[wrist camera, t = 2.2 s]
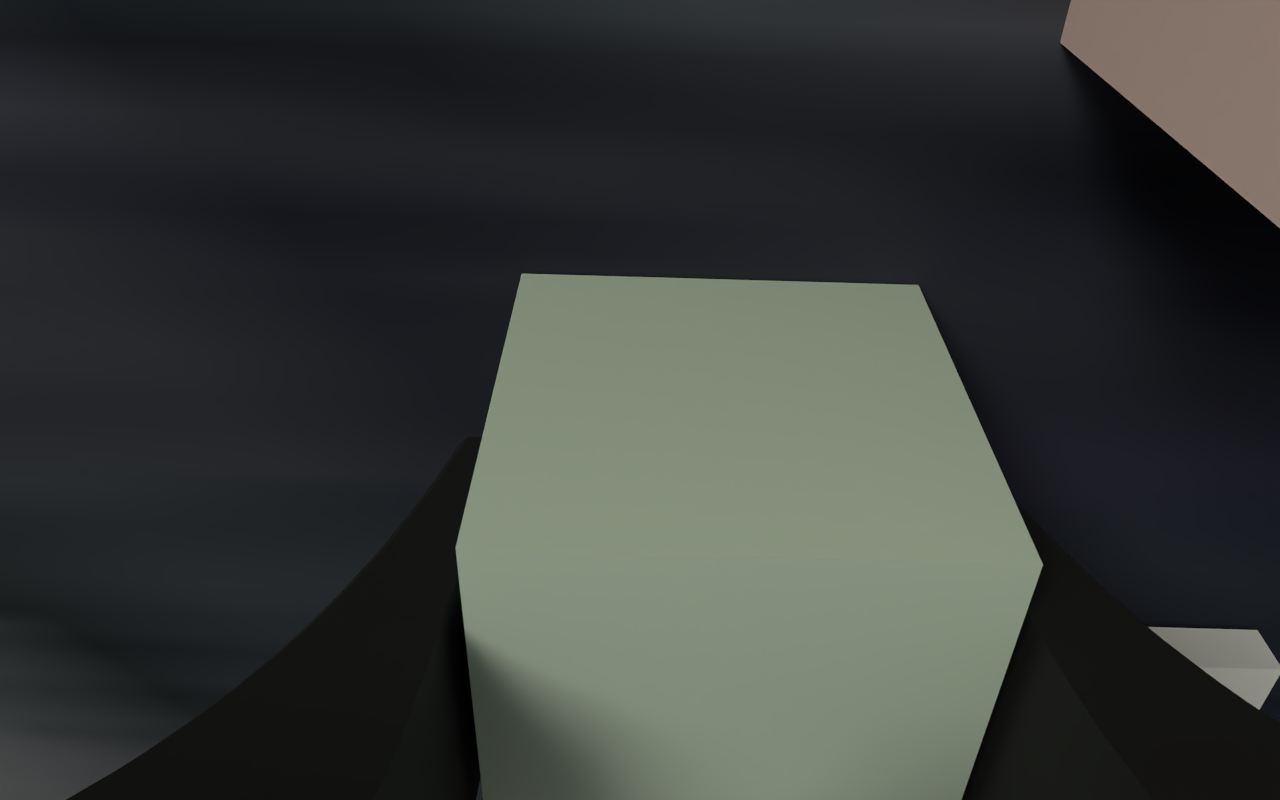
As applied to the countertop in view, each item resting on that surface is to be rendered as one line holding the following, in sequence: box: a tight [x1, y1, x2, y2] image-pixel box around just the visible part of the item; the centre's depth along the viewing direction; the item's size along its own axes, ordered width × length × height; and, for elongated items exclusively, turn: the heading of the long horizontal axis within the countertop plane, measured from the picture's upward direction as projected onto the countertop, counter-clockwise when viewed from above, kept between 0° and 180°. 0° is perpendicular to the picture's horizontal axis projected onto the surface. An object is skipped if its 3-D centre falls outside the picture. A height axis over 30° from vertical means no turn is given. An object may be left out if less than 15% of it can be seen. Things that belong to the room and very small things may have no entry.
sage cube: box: [455, 274, 1043, 800], centre depth 12 cm, size 5×5×5 cm
